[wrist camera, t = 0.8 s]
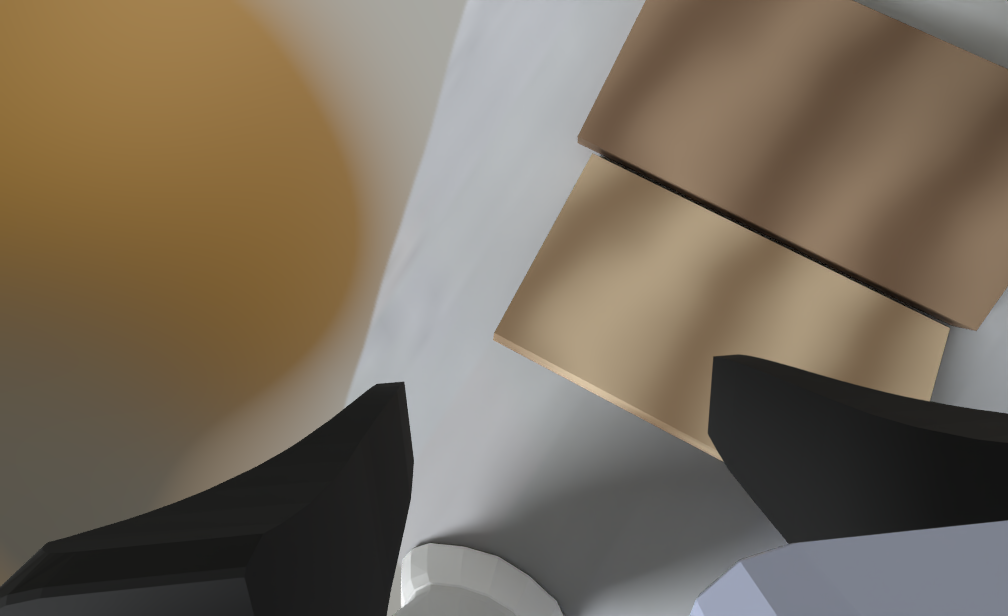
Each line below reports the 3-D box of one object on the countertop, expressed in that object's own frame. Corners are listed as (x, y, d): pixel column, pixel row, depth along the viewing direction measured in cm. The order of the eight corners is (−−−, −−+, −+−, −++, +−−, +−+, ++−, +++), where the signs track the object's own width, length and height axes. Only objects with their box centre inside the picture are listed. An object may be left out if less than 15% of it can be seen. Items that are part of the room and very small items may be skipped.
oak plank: (921, 335, 24) (949, 328, 23) (862, 535, 22) (890, 542, 20) (585, 169, 25) (592, 153, 24) (493, 339, 23) (494, 332, 21)
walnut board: (1087, 129, 22) (1123, 120, 21) (952, 325, 24) (976, 330, 23) (677, -55, 24) (683, -75, 22) (577, 143, 26) (577, 136, 24)
